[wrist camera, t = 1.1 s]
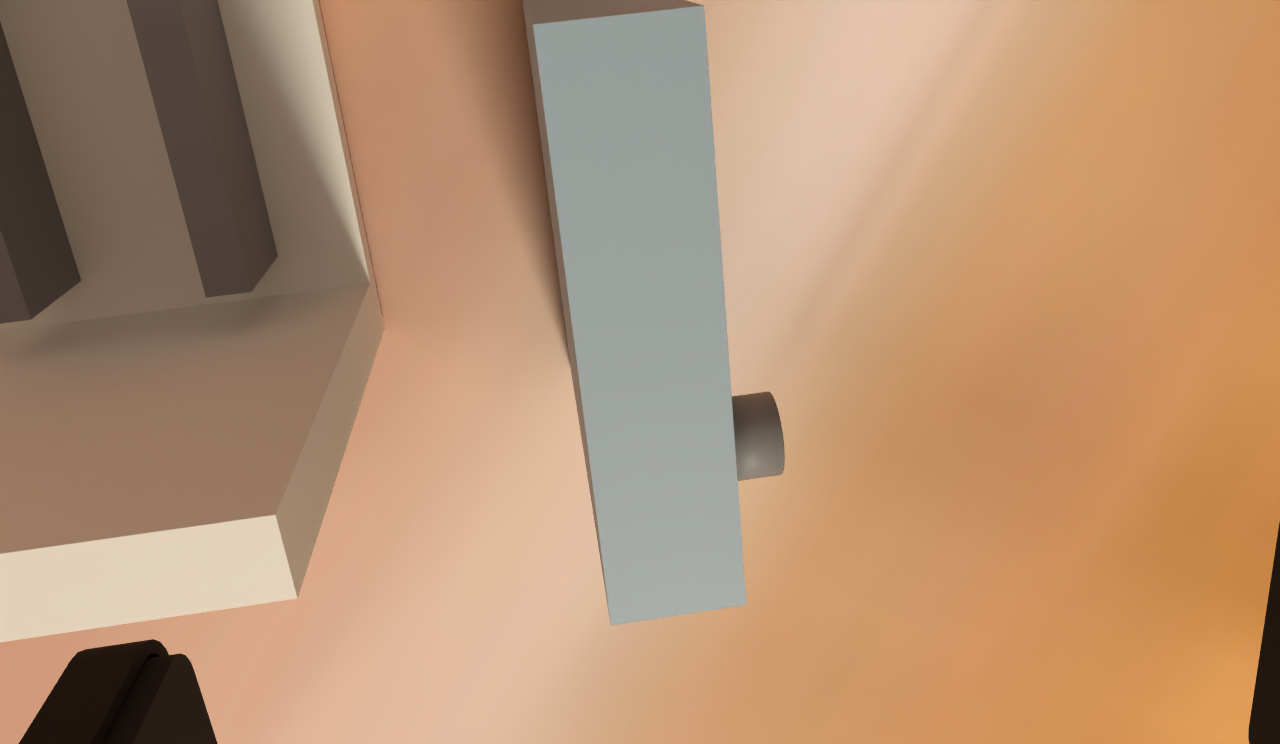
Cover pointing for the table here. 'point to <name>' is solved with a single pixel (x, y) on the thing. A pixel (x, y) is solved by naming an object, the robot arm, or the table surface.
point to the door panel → (647, 299)
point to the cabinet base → (171, 306)
